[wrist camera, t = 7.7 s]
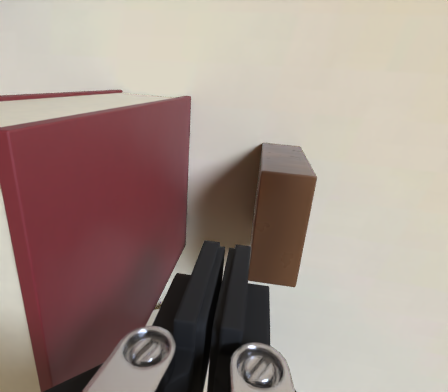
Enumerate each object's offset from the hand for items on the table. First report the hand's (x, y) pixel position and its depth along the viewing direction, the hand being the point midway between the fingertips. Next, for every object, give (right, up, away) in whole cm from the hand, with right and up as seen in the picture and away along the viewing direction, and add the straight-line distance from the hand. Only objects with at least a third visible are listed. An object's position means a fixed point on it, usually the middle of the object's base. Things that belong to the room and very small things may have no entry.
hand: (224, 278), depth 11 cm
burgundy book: (-4, +2, +4) cm, 5 cm away
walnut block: (+4, +4, +10) cm, 11 cm away
